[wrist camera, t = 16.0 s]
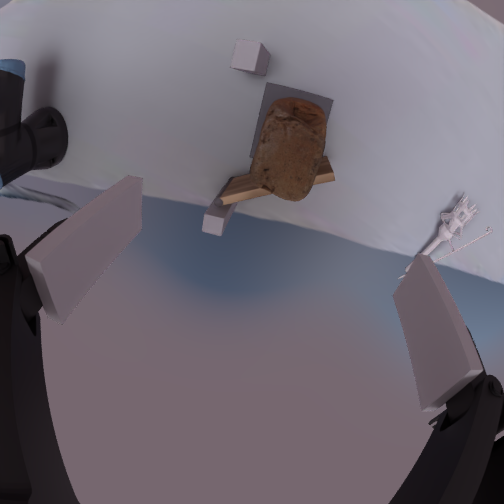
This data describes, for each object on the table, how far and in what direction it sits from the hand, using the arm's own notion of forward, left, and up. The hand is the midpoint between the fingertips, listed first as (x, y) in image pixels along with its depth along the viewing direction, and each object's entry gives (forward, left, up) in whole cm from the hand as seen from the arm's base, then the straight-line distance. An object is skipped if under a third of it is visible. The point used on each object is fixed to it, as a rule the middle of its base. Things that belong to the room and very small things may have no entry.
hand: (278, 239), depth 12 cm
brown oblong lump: (0, 0, -36) cm, 37 cm away
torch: (+33, -10, -37) cm, 51 cm away
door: (-1, -8, -36) cm, 37 cm away
